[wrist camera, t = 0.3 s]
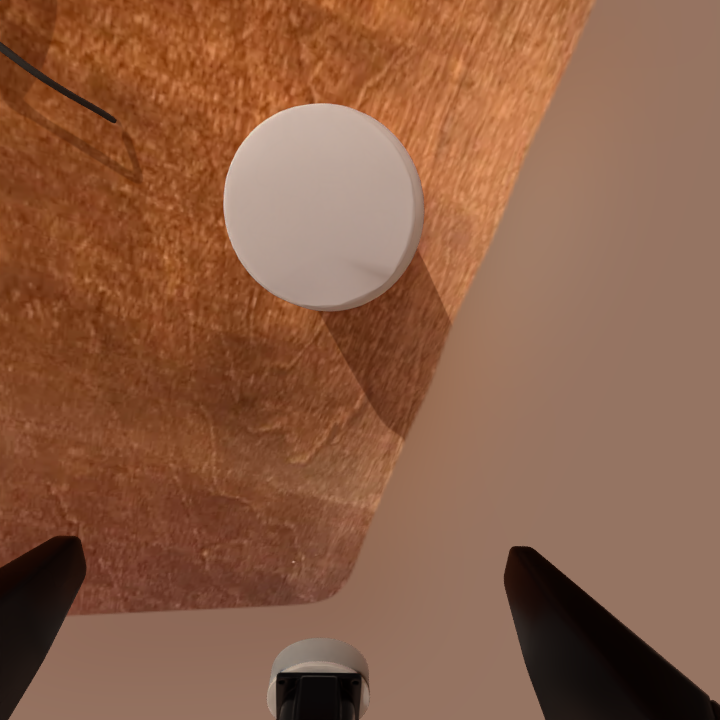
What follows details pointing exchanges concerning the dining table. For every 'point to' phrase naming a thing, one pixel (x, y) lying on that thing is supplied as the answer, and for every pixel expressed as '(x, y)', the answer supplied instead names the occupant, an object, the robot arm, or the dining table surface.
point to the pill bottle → (324, 206)
